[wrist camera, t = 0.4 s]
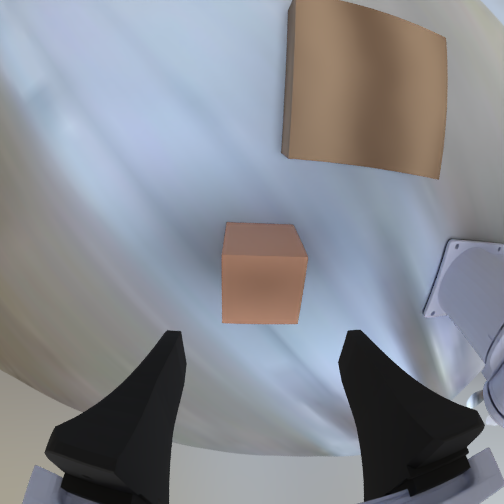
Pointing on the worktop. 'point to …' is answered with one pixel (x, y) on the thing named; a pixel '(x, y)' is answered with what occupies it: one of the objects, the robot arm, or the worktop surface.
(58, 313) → the worktop surface
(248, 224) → the terracotta cube
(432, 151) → the walnut block
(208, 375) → the worktop surface
